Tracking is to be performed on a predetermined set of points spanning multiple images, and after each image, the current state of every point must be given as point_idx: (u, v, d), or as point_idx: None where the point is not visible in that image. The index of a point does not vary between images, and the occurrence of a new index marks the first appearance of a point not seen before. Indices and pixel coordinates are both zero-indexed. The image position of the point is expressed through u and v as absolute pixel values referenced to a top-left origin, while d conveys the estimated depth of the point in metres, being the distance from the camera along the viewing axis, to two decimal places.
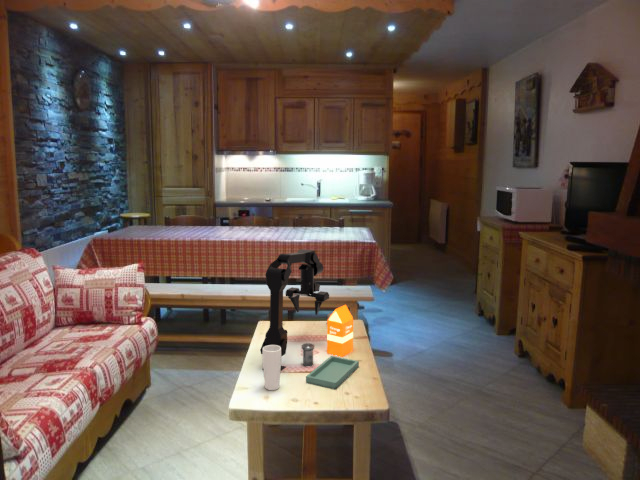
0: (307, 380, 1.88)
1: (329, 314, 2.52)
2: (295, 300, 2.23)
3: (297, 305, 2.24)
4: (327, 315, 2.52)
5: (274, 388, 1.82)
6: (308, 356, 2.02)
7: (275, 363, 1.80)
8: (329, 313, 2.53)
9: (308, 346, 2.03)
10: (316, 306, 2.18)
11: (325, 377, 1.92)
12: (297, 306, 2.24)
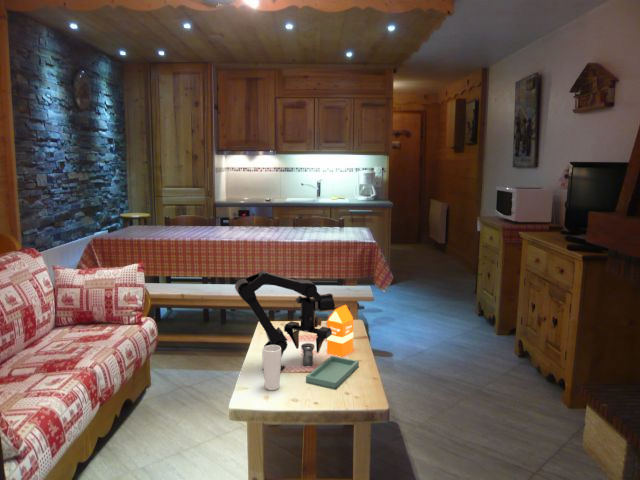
0: (307, 380, 1.88)
1: (329, 314, 2.52)
2: (294, 336, 2.04)
3: (297, 341, 2.05)
4: (327, 315, 2.52)
5: (274, 388, 1.82)
6: (308, 356, 2.02)
7: (275, 363, 1.80)
8: (329, 313, 2.53)
9: (308, 346, 2.03)
10: (317, 343, 1.99)
11: (325, 377, 1.92)
12: (297, 342, 2.05)
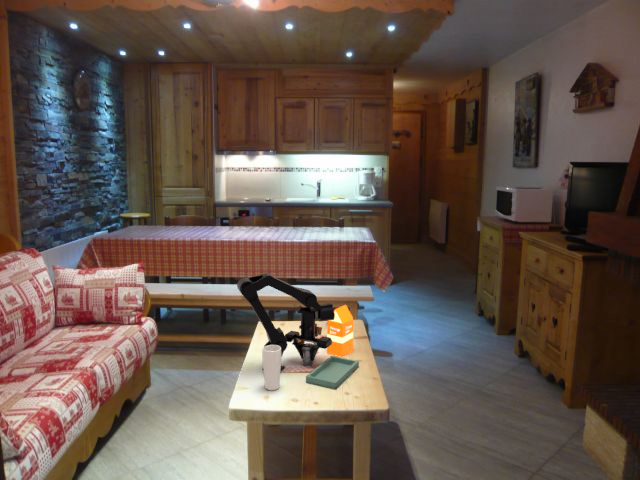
0: (307, 380, 1.88)
1: None
2: (300, 346, 2.04)
3: (302, 352, 2.05)
4: None
5: (274, 388, 1.82)
6: (308, 356, 2.02)
7: (275, 363, 1.80)
8: None
9: (308, 346, 2.03)
10: (312, 352, 2.01)
11: (325, 377, 1.92)
12: (302, 353, 2.05)
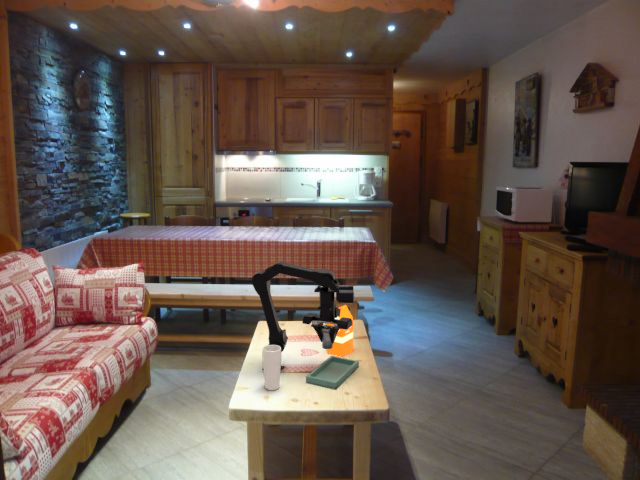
0: (307, 380, 1.88)
1: None
2: (319, 328, 1.95)
3: (321, 334, 1.97)
4: None
5: (274, 388, 1.82)
6: (328, 338, 1.94)
7: (275, 363, 1.80)
8: None
9: (327, 327, 1.95)
10: (333, 334, 1.93)
11: (325, 377, 1.92)
12: (321, 335, 1.97)
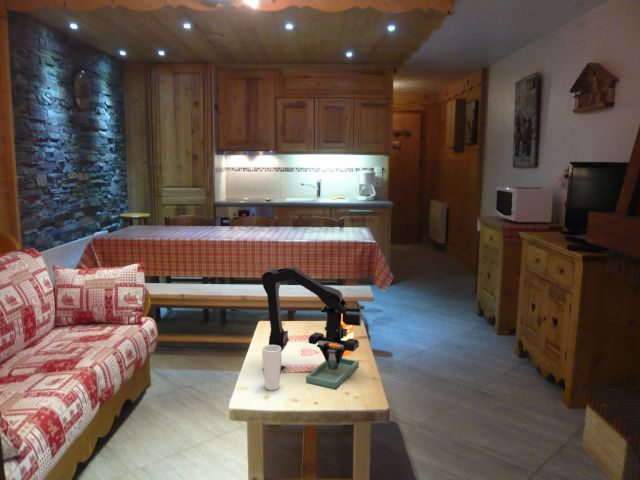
0: (307, 380, 1.88)
1: None
2: (325, 349, 1.94)
3: (327, 354, 1.95)
4: None
5: (274, 388, 1.82)
6: (334, 358, 1.93)
7: (275, 363, 1.80)
8: None
9: (334, 348, 1.94)
10: (338, 355, 1.91)
11: (325, 377, 1.92)
12: (327, 355, 1.95)
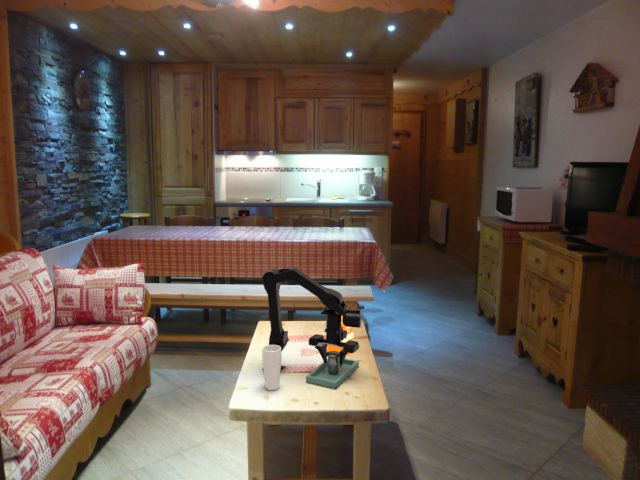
0: (307, 380, 1.88)
1: None
2: (323, 350, 1.95)
3: (325, 356, 1.96)
4: None
5: (274, 388, 1.82)
6: (334, 364, 1.93)
7: (275, 363, 1.80)
8: None
9: (334, 353, 1.94)
10: (341, 357, 1.91)
11: (325, 377, 1.92)
12: (325, 357, 1.96)
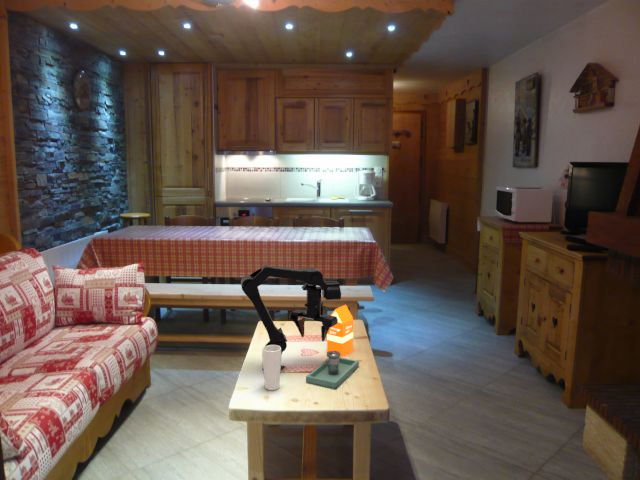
0: (307, 380, 1.88)
1: (329, 314, 2.52)
2: (300, 324, 2.02)
3: (302, 329, 2.03)
4: (327, 315, 2.52)
5: (274, 388, 1.82)
6: (334, 364, 1.93)
7: (275, 363, 1.80)
8: (329, 313, 2.53)
9: (334, 353, 1.94)
10: (323, 332, 1.97)
11: (325, 377, 1.92)
12: (302, 330, 2.03)
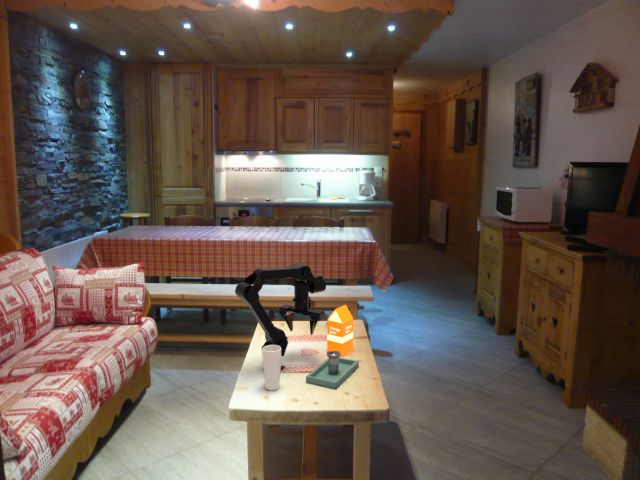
0: (307, 380, 1.88)
1: (329, 314, 2.52)
2: (288, 318, 2.07)
3: (291, 324, 2.08)
4: (327, 315, 2.52)
5: (274, 388, 1.82)
6: (334, 364, 1.93)
7: (275, 363, 1.80)
8: (329, 313, 2.53)
9: (334, 353, 1.94)
10: (311, 325, 2.02)
11: (325, 377, 1.92)
12: (291, 325, 2.08)
